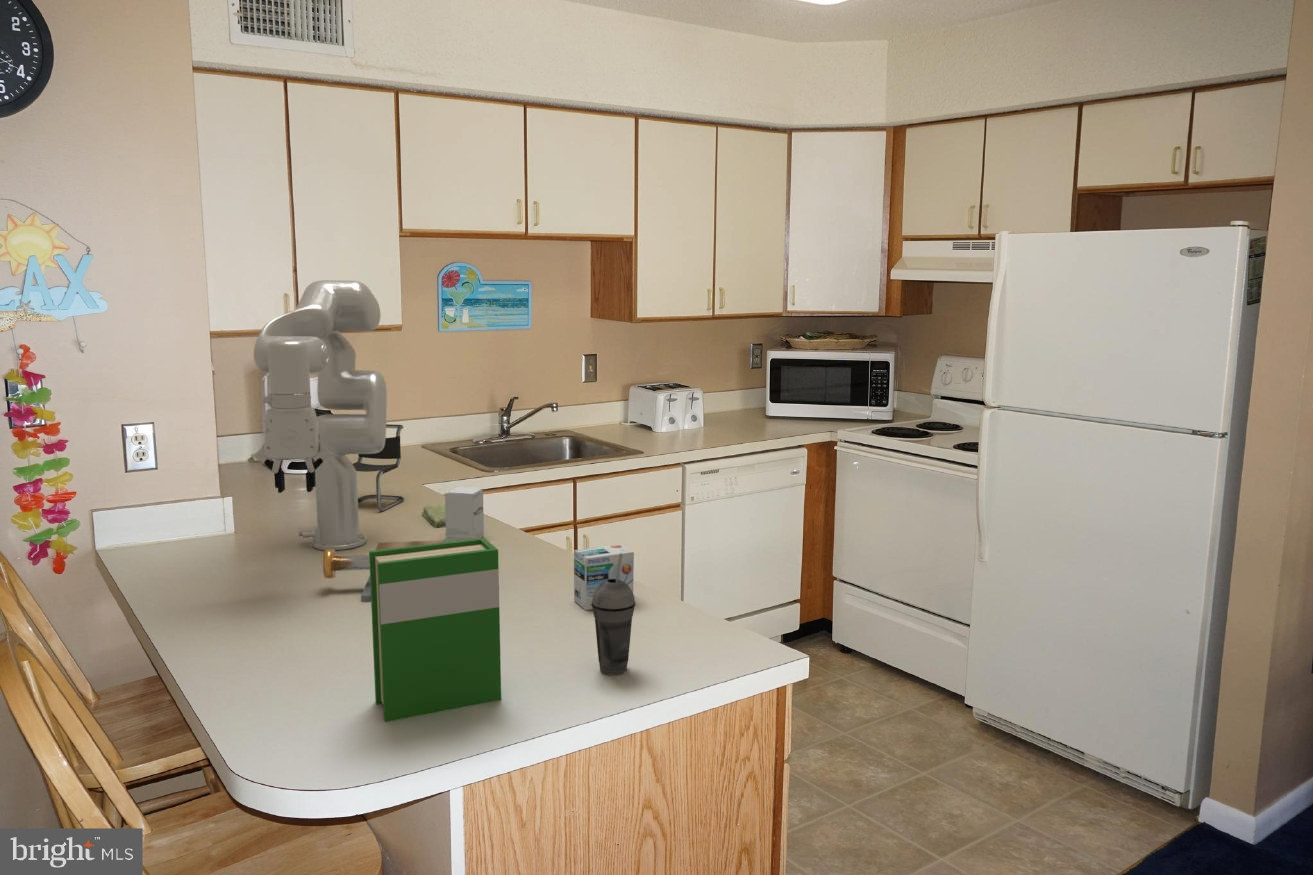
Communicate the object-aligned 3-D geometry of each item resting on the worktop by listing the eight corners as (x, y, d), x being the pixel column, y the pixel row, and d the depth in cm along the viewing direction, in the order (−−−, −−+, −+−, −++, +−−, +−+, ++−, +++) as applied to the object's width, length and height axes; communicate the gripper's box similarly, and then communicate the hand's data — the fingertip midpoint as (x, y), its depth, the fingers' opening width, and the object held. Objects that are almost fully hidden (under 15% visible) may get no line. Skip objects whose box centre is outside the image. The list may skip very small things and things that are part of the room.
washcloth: (467, 510, 271) (467, 499, 271) (481, 525, 255) (481, 513, 255) (420, 514, 266) (419, 503, 266) (431, 530, 250) (431, 518, 250)
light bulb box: (586, 611, 190) (585, 558, 188) (572, 601, 196) (572, 549, 194) (635, 603, 195) (635, 551, 193) (620, 593, 201) (620, 543, 199)
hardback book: (384, 722, 142) (378, 564, 138) (375, 702, 149) (368, 551, 145) (501, 699, 150) (498, 549, 146) (487, 681, 157) (484, 537, 153)
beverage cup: (591, 661, 165) (590, 547, 162) (633, 660, 166) (634, 547, 162) (591, 679, 158) (591, 560, 155) (636, 678, 158) (637, 559, 155)
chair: (408, 499, 282) (405, 424, 279) (380, 513, 266) (377, 434, 262) (366, 497, 285) (363, 423, 281) (336, 511, 268) (332, 432, 264)
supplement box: (473, 544, 236) (472, 493, 234) (445, 542, 237) (443, 492, 235) (485, 536, 243) (483, 487, 241) (457, 534, 245) (455, 485, 242)
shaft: (323, 582, 198) (322, 553, 197) (329, 573, 203) (327, 545, 202) (424, 578, 201) (423, 550, 200) (426, 569, 207) (425, 542, 206)
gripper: (241, 404, 189) (246, 496, 192) (332, 403, 191) (336, 494, 194) (250, 400, 196) (256, 488, 199) (338, 398, 199) (342, 486, 202)
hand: (295, 490), depth 197 cm, fingers open, 4 cm apart
